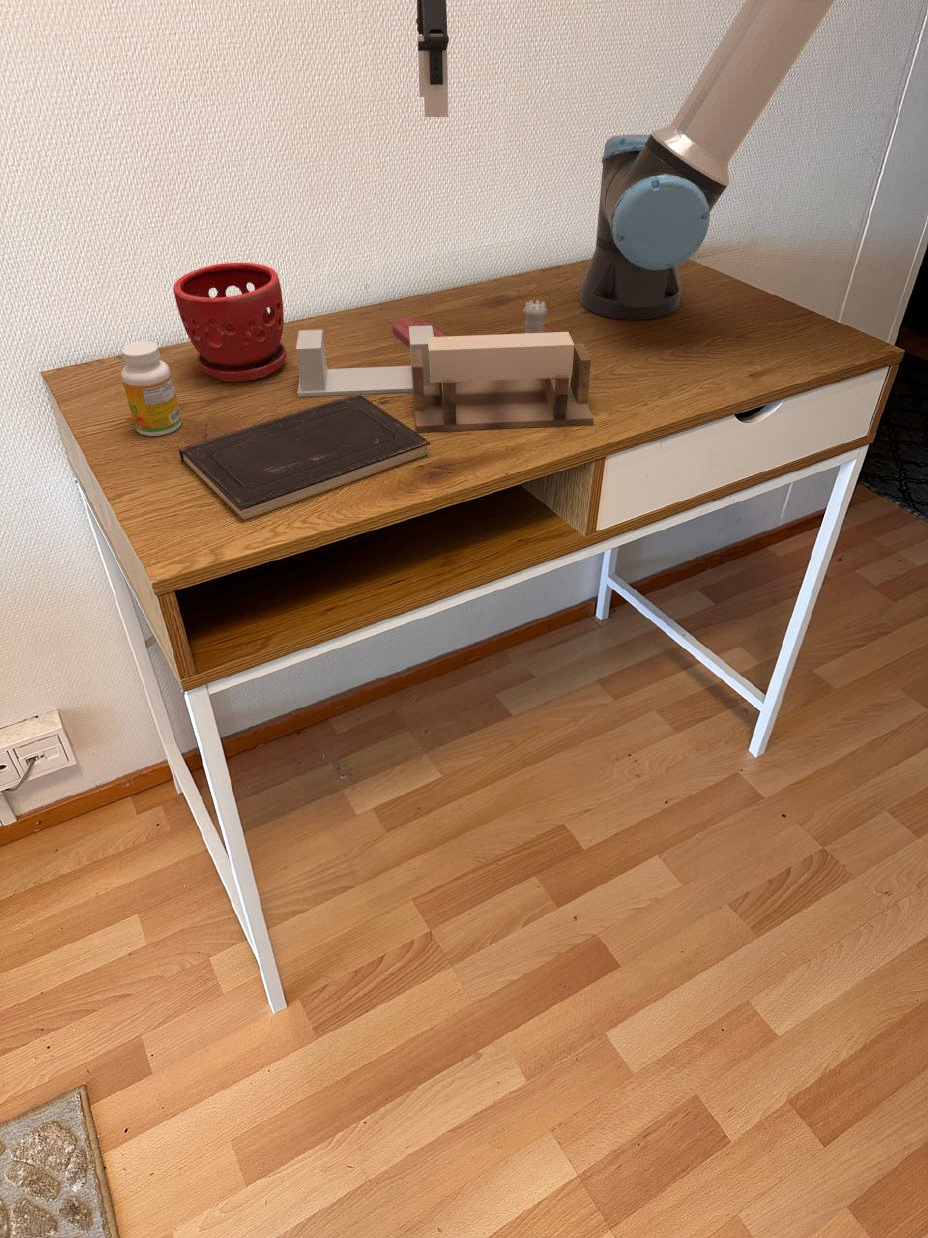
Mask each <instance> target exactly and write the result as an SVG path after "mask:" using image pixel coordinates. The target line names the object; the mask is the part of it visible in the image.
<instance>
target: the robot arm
mask: <svg viewBox="0 0 928 1238" xmlns="http://www.w3.org/2000/svg"><path fill="white" fill-rule="evenodd" d="M835 1H836V0H745V1H744V3H743V4H742V6H741V7H740V9H739V10H738V13H737V14H736V16H735V17H734V19H733V21H732V22H731V24H730V26H729V28H728V29H727V31H726V33H725V34H724V36H723V37H722V39H721V41H719V44H718V46H717V47H716V49H715V50H714V52H713V54H712V56H711V57H710V59H709V61H708V62H707V64H706V65H705V67H704V69H703V71H702V72H701V74H700V76H699V78H697V80H696V82H695V84H694V86H693V88H692V89H690V90H691V91H690V92H689V94H688V95H687V98H686V99H685V101H684V102H683V104H682V106H680V109H679V110H678V112H677V114H676V115H675V117H674V118H673V120H672V122H671V123H670V124H668V125H667V126H665V127H662V128H658V129H655V130H652V132H651V134H620V135H613V136H611V137H609V138H607V140H606V141H605V144H604V148H603V149H604V150H603V155H602V158H601V164H602V172H601V183H600V193H599V195H600V196H599V205H598V216H597V218H598V219H597V230H596V241H595V242H596V243H595V249H594V251H593V255H592V257H591V260H590V261H589V264H588V267H587V269H586V272H585V275H584V277H583V279H582V282H581V285H580V294H579V302H580V304H581V306H582V307H583V308H585V309H586V310H588V311H589V312H592V313H594V314H596V315H600V316H603V317H607V318H613V319H619V320H633V321H634V320H635V321H637V320H651V319H656V318H657V319H658V318H662V317H666V316H668V315H670V314H673V313H675V312H676V311H677V310H678V308H679V306H680V302H681V301H680V299H681V293H682V291H681V289H682V288H681V284H680V277H679V272H678V266H679V265H681V264H683V263H685V262H686V261H687V260H689V259H690V258H691V257H692V256H694V254H695V253H696V252H698V250H699V248H700V247H701V245H702V244H703V242H704V240H705V238H706V236H707V233H708V230H709V225H710V217H711V214H710V213H711V212H712V210H713V208H714V207H715V205H716V204H717V202H718V201H719V199H720V198H721V197H722V195H723V194H724V191H725V190H726V189H727V188H728V186H729V185H730V179H729V178H730V177H729V169H728V167H729V162H730V160H731V159H732V158H733V156H734V155H735V154H736V151H737V150H738V149H739V147H740V146H741V144H742V143H743V141H744V139H745V138H746V136H747V134H749V132H750V130H751V129H752V127H754V124H755V122H756V121H757V120H758V118H759V117H760V116H761V114H762V112H763V110H764V109H765V107H766V106H767V104H768V103H769V102H770V101H771V98H772V96H773V95H774V94H775V92H776V90H777V89H778V88H779V86H780V85H781V83H782V82H783V80H784V78H785V77H786V76H787V74H788V72H789V71H790V70H791V69H792V67H793V65H794V63H795V62H796V61H797V58H798V57H799V56H800V54H801V53H802V52H803V49H804V48H805V46H806V45H807V44H808V42H809V41H810V39H811V37H812V36H813V35H814V33H815V31H816V30H817V28H818V26H819V25H820V24H821V22H822V21H823V19H824V18H825V16H826V15H827V14H828V12H829V10H830V8H831V7H832V5H833V4H834V3H835ZM447 12H448V11H447V0H416V18H415V23H416V25H417V26H416V32H418V33H417V51H418V52H417V55H418V56H417V57H418V80H419V81H418V83H419V84H418V87H419V89H418V90H419V98H424V99H423V100H424V118H446V117H448V118H449V78H448V77H449V76H448V72H449V71H448V49H447V48H448V47H449V46H448V44H449V42H450V37H449V35H448V15H447V14H448V13H447Z"/></svg>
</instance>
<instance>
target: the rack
mask: <svg viewBox="0 0 928 1238" xmlns="http://www.w3.org/2000/svg"><path fill="white" fill-rule="evenodd" d="M411 358H412V380H413V384H412V387H413V392H412V397H413V400H412V401H413V408H414V409H413V411H414V420H415V421H414V422H415V432H416V433H432V432H433V433H434V432H435V433H436V432H456V431H457V432H458V431H460V432H461V431H477V430H500V429H501V430H502V429H503V430H504V429H523V428H524V429H525V428H542V427H543V428H546V427H566V426H586V425H587V426H588V425H589V426H592V425H594V419H595V418H594V416H593V413H592V412H591V409H590V406H589V404H588V397H589V386H590V385H589V384H590V376H591V375H590V374H591V364H592V360H591V357H590V354H589V353H588V351H587V349H586V346H585V344H584V343H574V355H573V369H572V377H569V376H568V375H556V378H542V379H518V380H495V381H471V382H455V380H443V383H434V384H424V379H423V362H422V354H421V350H411Z"/></svg>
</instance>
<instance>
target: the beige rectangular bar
mask: <svg viewBox="0 0 928 1238" xmlns="http://www.w3.org/2000/svg"><path fill="white" fill-rule="evenodd" d="M574 344H575V343H574V341H573V339H572V337H571V335H570V332H569V331H556V332H544V333H525V332H524V333H507V334H506V333H505V334H501V333H500V334H483V335H482V334H481V335H480V334H479V335H477V334H476V335H454V336H447V337H427V345H428V371H429V378H430V383H443V380H455V382H471V381H495V380H518V379H542V378H556V375H568V376H569V377H572V369H573V355H574Z"/></svg>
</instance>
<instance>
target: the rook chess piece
mask: <svg viewBox="0 0 928 1238" xmlns="http://www.w3.org/2000/svg"><path fill="white" fill-rule="evenodd" d="M522 312H523V314H524V315H525V320H524V322H523V323H524V325H525V326H524V327H525V329H524V334H525V333H545V325H546V324H547V323H546V321H545V316H546V315H547V314H548V312H549V311H548V309H547V306H546V302H545V301H541V300H539V299H536V300H535V303H534V300H528V301H526V302H525V306H524V308H523V309H522Z"/></svg>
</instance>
